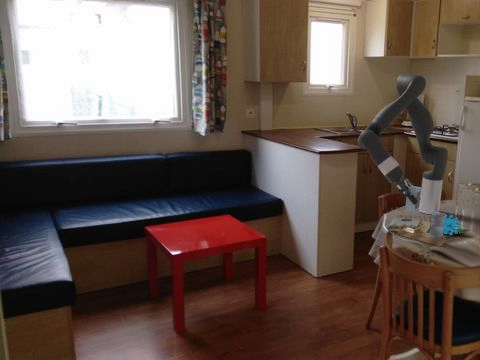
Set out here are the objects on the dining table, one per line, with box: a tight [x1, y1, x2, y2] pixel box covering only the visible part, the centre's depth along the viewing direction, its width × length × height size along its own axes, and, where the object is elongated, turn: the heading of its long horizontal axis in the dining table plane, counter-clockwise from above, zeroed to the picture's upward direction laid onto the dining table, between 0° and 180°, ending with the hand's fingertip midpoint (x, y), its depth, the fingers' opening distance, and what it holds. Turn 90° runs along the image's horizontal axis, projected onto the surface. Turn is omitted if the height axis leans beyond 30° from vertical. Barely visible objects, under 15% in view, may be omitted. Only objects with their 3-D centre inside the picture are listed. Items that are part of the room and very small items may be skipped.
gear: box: [443, 214, 465, 237], centre depth 193 cm, size 11×6×10 cm
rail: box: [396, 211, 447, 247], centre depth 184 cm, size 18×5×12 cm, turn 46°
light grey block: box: [404, 185, 422, 213], centre depth 184 cm, size 4×4×10 cm
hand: (417, 201), depth 184 cm, fingers closed on light grey block, 4 cm apart
